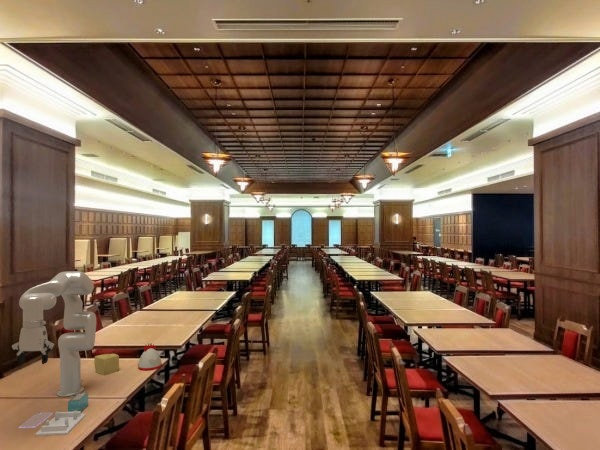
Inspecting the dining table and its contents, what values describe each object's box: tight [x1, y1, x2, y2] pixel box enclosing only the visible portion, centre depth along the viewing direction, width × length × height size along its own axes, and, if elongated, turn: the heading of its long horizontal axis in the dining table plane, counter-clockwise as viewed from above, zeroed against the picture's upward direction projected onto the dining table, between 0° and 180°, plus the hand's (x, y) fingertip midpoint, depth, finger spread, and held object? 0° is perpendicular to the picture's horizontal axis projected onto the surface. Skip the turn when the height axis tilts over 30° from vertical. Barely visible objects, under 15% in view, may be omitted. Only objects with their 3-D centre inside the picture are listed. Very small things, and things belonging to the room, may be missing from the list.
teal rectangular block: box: [67, 392, 89, 413], centre depth 198 cm, size 10×5×6 cm, turn 5°
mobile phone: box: [18, 411, 54, 429], centre depth 187 cm, size 8×1×15 cm
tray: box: [34, 410, 87, 437], centre depth 182 cm, size 18×13×4 cm
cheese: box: [93, 353, 120, 376], centre depth 252 cm, size 10×11×10 cm
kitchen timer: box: [137, 343, 162, 372], centre depth 260 cm, size 14×14×15 cm
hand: (33, 363), depth 180 cm, fingers open, 9 cm apart
